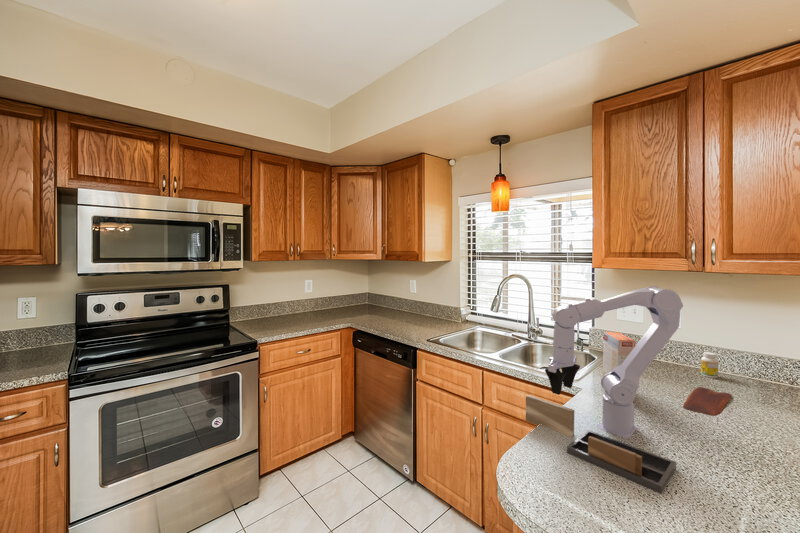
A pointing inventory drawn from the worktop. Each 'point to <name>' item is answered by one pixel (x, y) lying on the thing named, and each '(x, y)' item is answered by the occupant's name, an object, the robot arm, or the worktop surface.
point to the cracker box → (615, 350)
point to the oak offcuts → (615, 455)
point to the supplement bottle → (709, 365)
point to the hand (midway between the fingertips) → (562, 390)
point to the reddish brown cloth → (706, 401)
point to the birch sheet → (550, 415)
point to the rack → (653, 469)
